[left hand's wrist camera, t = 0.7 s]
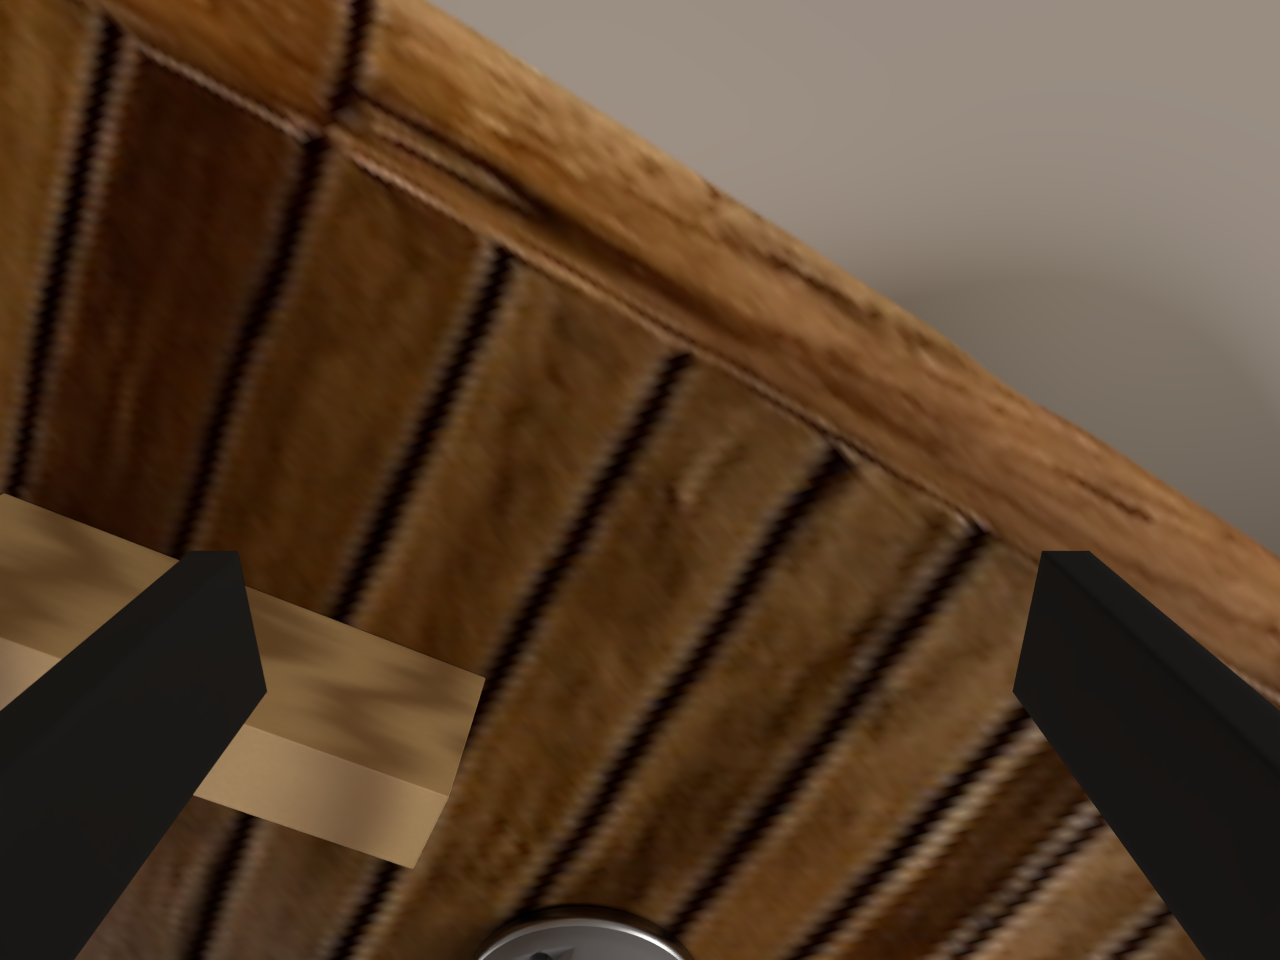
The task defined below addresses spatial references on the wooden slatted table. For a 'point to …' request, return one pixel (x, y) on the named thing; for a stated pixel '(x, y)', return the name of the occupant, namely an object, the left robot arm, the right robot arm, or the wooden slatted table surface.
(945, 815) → the wooden slatted table surface
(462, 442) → the wooden slatted table surface
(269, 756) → the bar
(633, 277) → the wooden slatted table surface
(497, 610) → the wooden slatted table surface
